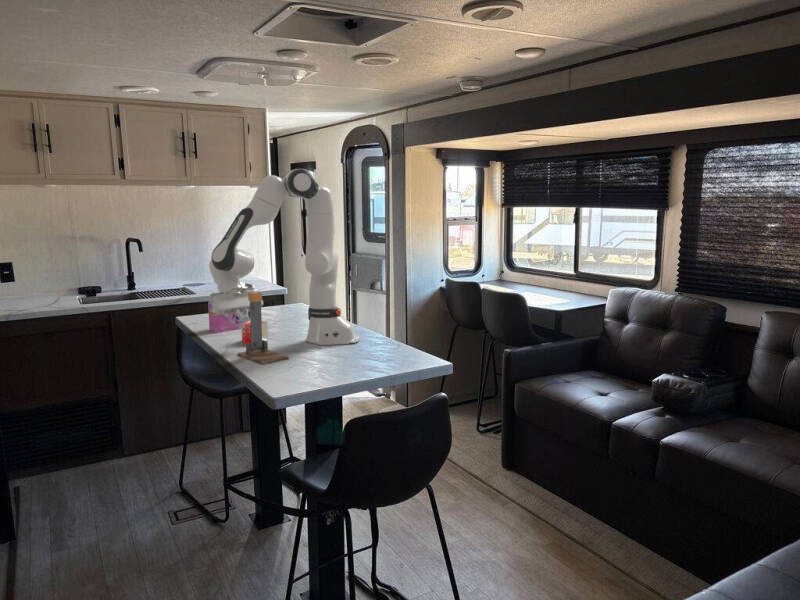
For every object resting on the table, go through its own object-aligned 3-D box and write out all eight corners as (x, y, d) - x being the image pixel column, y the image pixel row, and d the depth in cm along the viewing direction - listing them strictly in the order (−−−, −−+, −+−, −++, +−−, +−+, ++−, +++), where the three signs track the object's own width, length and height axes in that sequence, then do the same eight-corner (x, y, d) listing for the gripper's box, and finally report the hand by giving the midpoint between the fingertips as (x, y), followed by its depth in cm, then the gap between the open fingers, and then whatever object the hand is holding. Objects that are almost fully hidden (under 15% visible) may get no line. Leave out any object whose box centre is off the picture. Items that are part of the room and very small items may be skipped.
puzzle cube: (259, 344, 245) (259, 325, 244) (242, 343, 247) (241, 324, 246) (268, 339, 253) (267, 321, 251) (251, 338, 255) (250, 320, 253)
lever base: (237, 355, 228) (236, 342, 227) (262, 350, 235) (262, 337, 235) (263, 364, 215) (262, 351, 214) (288, 358, 223) (288, 345, 222)
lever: (249, 350, 228) (247, 292, 224) (259, 348, 231) (257, 291, 227) (254, 351, 225) (252, 294, 221) (264, 349, 228) (262, 292, 224)
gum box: (253, 322, 287) (252, 294, 285) (263, 324, 282) (262, 296, 280) (208, 330, 270) (207, 300, 267) (218, 333, 264) (217, 302, 262)
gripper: (209, 289, 227) (223, 318, 222) (257, 284, 241) (270, 311, 236) (204, 299, 231) (217, 327, 226) (251, 293, 245) (264, 320, 240)
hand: (245, 319), depth 231 cm, fingers closed
